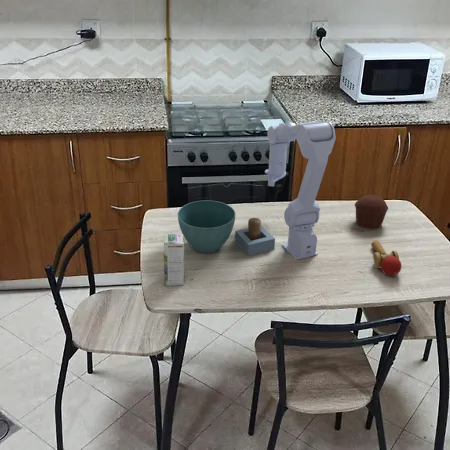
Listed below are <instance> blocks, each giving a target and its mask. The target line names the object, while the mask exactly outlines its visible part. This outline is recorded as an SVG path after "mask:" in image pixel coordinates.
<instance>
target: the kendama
mask: <svg viewBox="0 0 450 450" xmlns="http://www.w3.org/2000/svg"><path fill="white" fill-rule="evenodd" d="M370 246H371V248H372V249H373V250H374V251H375V252H373V263H374V266H375V265H376V266H375V268H377V269H381V271H382V272H383V274H385V275H387V276H390V277H391V276H392V277H393V276H396V275H398V274H399V273H400V272H401V270H402V261H401V260H400V257H399V252H398V251H397V250H391V252H390V253H386V251H385V248H384V247H383V246H382V244H381V242H380V240H377V239H375V240H373V241H372V242H371V244H370Z"/></svg>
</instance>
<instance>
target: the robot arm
mask: <svg viewBox="0 0 450 450" xmlns="http://www.w3.org/2000/svg"><path fill="white" fill-rule="evenodd" d="M336 139H337V138H336V131H335V127H334V125H333V124H332V123H331V121H325V122H324V121H310V122H309V121H307V122H301V123H298V124H297V123H294V122H292V121H291V120H288V121H284V123H281V122H280V123H279V125H270V126H269V127H268V128H267V140H268V143H269V155H268V156H269V157H268V169H265V170H264V174H266V175H267V179H268V180H265V181H264V182H263V186H264V188H265V189H266V193H267V197H268V201H269V202H272V203H276V201H277V198H278V193H279V194H280V193H282V191H283V187H284V185H285V182H286V179H287V177H288V176H289V172H288V171H286V169H287V157H288V156H287V155H288V148H289V147H290V143H291V142H294V141H297V144H298V146H299V150H300V153H301V155H302V157H303V158H305V159H306V160H308V161H307V164H306V167H305V171H304V174H303V177H302V182H301V184H300V188H299V192H298V195H297V197H296V198H295V199H293V200H292V201H291V202H289V203H288V205H287V207H286V208H285V210H284V213H283V216H284V217H283V218H284V222H285V224H286V226H287V227H289V228H288V239H287V242H286V243H283V244H281V247H283V248H284V249H285V250H286V251H287V252H288V253H289V254H290V255H291V256H292V257H294V259H296V260H302V259H305V258H309V257H313V256H317V255H318V254H319V253H318V252H317V244H318V243H317V242H318V237H317V235H316V234H315V233H314V230H313V228H314V227H315V224H317V223H318V222H319V219H320V210H321V208H320V207H321V206H320V205H319V203H318V201H317V200H316V197H317V195H318V193H319V192H318V191H319V188H320V185H321V183H322V181H323V177H324V174H325V171H326V167H327V164H328V160H329V155H331V153H332V151H333V148H334V145H335V142H336Z"/></svg>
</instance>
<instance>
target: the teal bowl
mask: <svg viewBox="0 0 450 450" xmlns="http://www.w3.org/2000/svg"><path fill="white" fill-rule="evenodd" d="M177 221H178V225H179V228H180V232H181V234H183V237H184V240H185V241H186V242H187V244H189V245H190V246H191V247H192V248H193V249H194V250H195V251H197V252H199V253H202V254H210V253H211V254H212V253H215V252H217V251H218V250H219V249H221V247H223V245H224V244H225V243H227V242H228V241H227V240H228V239H229V237H230V236H231V233H232V231H233V228H234V225H235V221H236V211H235V209H234V208H233V207H232V206H230V205H229V204H227V203H225V202H221V201H217V200H205V199H204V200H197V201H192V202H189V203H187V204H185V205H183V206H181V207H180V208H179V210H178V212H177Z"/></svg>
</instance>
